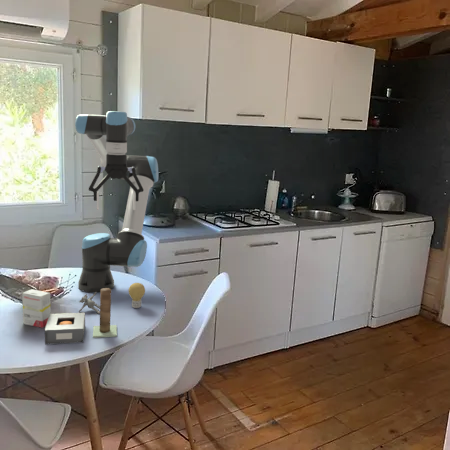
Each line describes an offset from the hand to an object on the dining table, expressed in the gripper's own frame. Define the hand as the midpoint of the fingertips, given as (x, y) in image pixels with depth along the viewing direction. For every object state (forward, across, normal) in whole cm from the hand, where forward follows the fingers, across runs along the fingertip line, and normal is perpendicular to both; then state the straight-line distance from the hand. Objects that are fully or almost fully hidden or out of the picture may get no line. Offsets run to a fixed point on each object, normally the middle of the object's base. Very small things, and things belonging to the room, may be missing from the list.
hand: (116, 209), depth 186 cm
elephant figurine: (+39, -9, -5) cm, 40 cm away
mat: (+39, -4, -25) cm, 46 cm away
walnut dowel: (+38, -4, -25) cm, 46 cm away
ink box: (+39, -28, -15) cm, 50 cm away
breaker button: (+38, -17, -25) cm, 48 cm away
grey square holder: (+39, -17, -26) cm, 49 cm away
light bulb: (+39, +8, -4) cm, 40 cm away
